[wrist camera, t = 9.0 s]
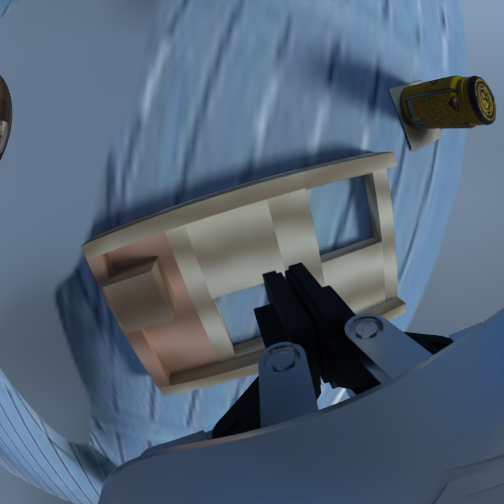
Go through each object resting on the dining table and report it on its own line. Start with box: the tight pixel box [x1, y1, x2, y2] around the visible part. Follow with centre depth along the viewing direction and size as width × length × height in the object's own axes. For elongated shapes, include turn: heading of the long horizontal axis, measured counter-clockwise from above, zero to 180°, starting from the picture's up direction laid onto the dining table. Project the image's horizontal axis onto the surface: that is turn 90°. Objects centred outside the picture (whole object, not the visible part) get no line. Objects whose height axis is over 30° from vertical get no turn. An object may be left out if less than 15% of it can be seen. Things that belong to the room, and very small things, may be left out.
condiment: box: [389, 76, 496, 152], centre depth 21 cm, size 7×8×12 cm
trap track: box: [81, 152, 406, 396], centre depth 28 cm, size 20×32×4 cm, turn 106°
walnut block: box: [103, 256, 177, 333], centre depth 24 cm, size 5×5×4 cm
